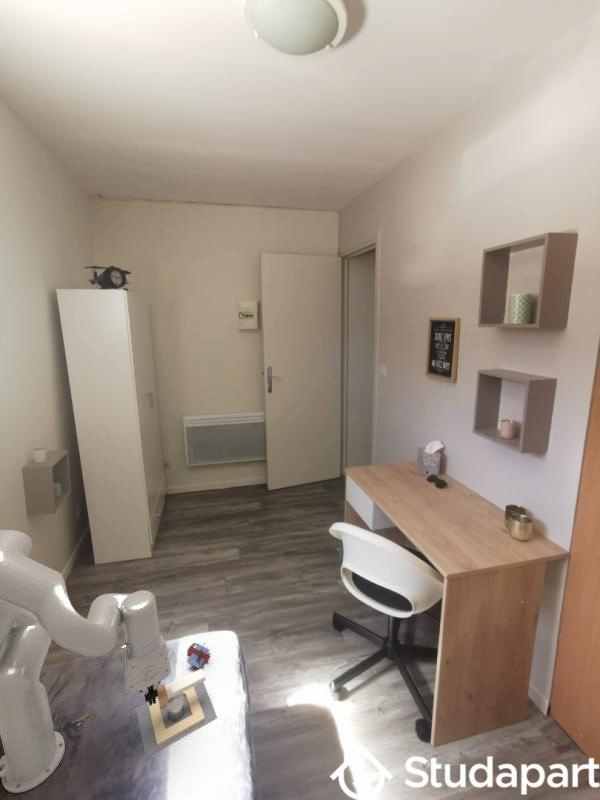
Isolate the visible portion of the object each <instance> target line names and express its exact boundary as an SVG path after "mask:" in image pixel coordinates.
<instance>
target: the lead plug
mask: <svg viewBox="0 0 600 800" xmlns="http://www.w3.org/2000/svg"><path fill="white" fill-rule="evenodd" d="M166 707H167V716H168V719H169V720H170V721H172V722H175V721H178V720H180V719H181V718H182V717H183V715H184V712H185V709H184V698H183V692H182V693H180V694H178V695H176V696H174V697H172V698H170V699H168V703H167V704H166Z"/></svg>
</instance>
